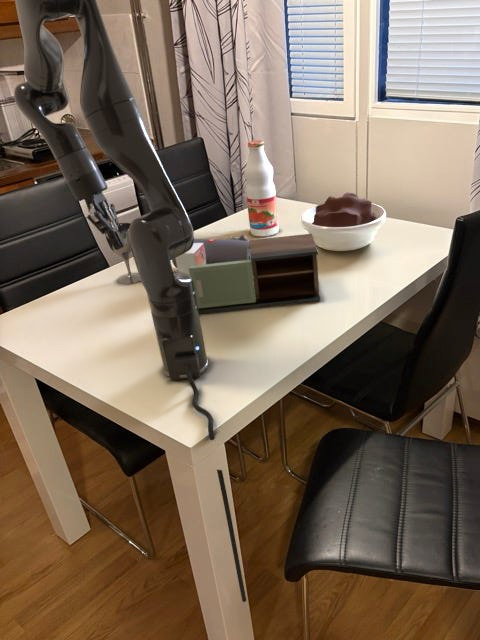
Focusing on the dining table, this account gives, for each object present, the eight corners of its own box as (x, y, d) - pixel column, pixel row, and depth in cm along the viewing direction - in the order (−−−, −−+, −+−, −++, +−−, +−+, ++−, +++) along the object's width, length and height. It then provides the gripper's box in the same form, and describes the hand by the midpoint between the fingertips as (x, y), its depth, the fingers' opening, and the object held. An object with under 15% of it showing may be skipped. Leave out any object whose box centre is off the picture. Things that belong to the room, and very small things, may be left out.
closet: (319, 296, 149) (316, 247, 142) (256, 303, 149) (250, 254, 142) (314, 280, 158) (311, 233, 150) (254, 287, 157) (249, 240, 150)
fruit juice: (284, 228, 195) (276, 138, 179) (270, 238, 188) (261, 145, 172) (259, 226, 199) (250, 138, 183) (245, 235, 192) (234, 145, 176)
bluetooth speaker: (256, 233, 165) (244, 246, 157) (260, 265, 170) (248, 279, 162) (183, 231, 171) (167, 244, 163) (188, 262, 176) (173, 275, 168)
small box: (200, 291, 158) (194, 253, 152) (181, 290, 159) (173, 253, 153) (210, 278, 164) (204, 242, 158) (191, 278, 165) (184, 242, 160)
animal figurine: (260, 239, 177) (250, 249, 175) (264, 250, 181) (254, 260, 179) (231, 229, 183) (221, 239, 181) (235, 240, 187) (225, 250, 185)
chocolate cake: (294, 260, 171) (290, 208, 163) (311, 230, 191) (309, 183, 183) (381, 261, 165) (381, 207, 157) (389, 230, 185) (390, 181, 177)
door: (256, 303, 146) (251, 262, 140) (195, 309, 145) (188, 269, 140) (255, 299, 148) (251, 259, 142) (196, 306, 147) (188, 266, 141)
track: (320, 301, 147) (318, 251, 140) (192, 315, 146) (183, 265, 139) (319, 296, 149) (316, 247, 142) (193, 310, 148) (184, 261, 141)
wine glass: (111, 282, 167) (97, 231, 159) (129, 271, 173) (117, 221, 165) (132, 286, 164) (120, 233, 156) (150, 275, 170) (139, 224, 162)
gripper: (77, 177, 136) (114, 248, 143) (56, 184, 124) (97, 260, 131) (106, 165, 135) (141, 236, 141) (87, 170, 123) (127, 248, 129)
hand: (120, 248), depth 136 cm, fingers closed
